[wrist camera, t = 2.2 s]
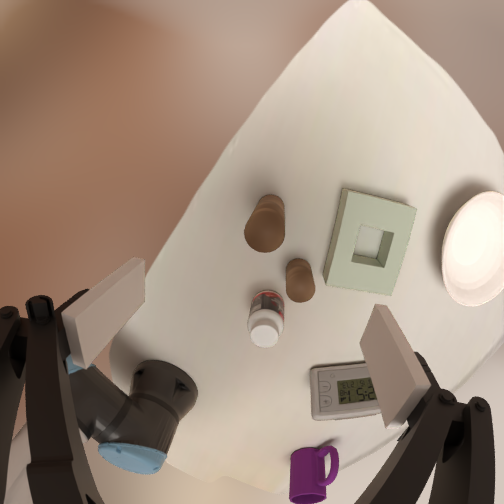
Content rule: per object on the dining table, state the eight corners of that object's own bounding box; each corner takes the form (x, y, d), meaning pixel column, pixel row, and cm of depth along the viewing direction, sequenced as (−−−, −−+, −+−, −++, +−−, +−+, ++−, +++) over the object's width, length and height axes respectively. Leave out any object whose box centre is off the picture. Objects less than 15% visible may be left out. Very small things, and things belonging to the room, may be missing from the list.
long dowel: (255, 218, 43) (241, 248, 29) (259, 192, 42) (247, 210, 28) (281, 223, 43) (280, 255, 29) (286, 197, 42) (288, 217, 27)
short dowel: (283, 279, 46) (283, 299, 39) (288, 256, 44) (289, 273, 38) (307, 283, 46) (311, 304, 39) (313, 260, 44) (318, 278, 38)
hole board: (322, 274, 45) (325, 285, 41) (342, 188, 40) (348, 191, 36) (383, 285, 44) (391, 295, 40) (406, 204, 40) (417, 208, 36)
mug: (284, 457, 63) (281, 501, 48) (321, 432, 58) (324, 482, 43) (309, 464, 63) (310, 506, 49) (347, 440, 58) (353, 486, 44)
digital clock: (391, 358, 49) (406, 394, 39) (376, 389, 52) (386, 425, 42) (314, 353, 50) (318, 393, 40) (304, 386, 53) (305, 426, 43)
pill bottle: (290, 301, 47) (291, 335, 38) (270, 322, 49) (267, 358, 39) (265, 283, 46) (260, 314, 37) (245, 305, 48) (237, 338, 39)
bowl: (513, 210, 37) (533, 217, 31) (477, 300, 43) (493, 315, 37) (447, 167, 37) (468, 170, 31) (408, 276, 43) (423, 292, 37)
